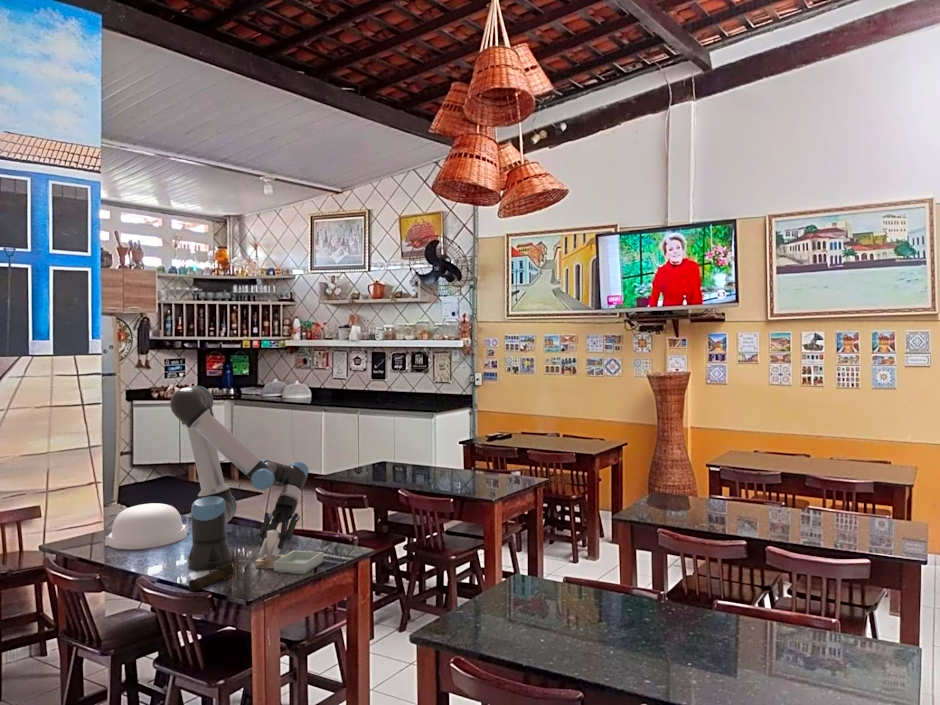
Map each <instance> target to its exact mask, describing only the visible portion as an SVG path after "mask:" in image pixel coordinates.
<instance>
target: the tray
mask: <svg viewBox="0 0 940 705" xmlns="http://www.w3.org/2000/svg"><path fill="white" fill-rule="evenodd" d="M284 555H285V556H283V557H281V558H279V559H278V560H276V561H274V569H273V572H274V571H278V572H277V573H285V572H290V574H299V575H300V574H302V575H303V574H304V575H305V574H308V573H309V572H310V571H312V570H313V569H315V568H317V567H318V566H319V565H321V564H323V563H324V551H310V550H309V551H308V550H291V551H290V552H288V553H286V554H284Z"/></svg>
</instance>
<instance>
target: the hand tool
mask: <svg viewBox="0 0 940 705" xmlns="http://www.w3.org/2000/svg"><path fill="white" fill-rule="evenodd" d="M234 571H235V570H234V566H233V564H232V563H227V564H225V565H221V566H220V567H219V568H217V569H215V570H214V571H212V572H208V573H207V574H205V575H202V576H200V577H197V578H195V579H191V580H188V581H189V582H188V589H189V591H191V592H198V591H199V590H201V591H202V588H205V587H207V586H209V585H211V584H213V583H216V582H217V581H220V580H225V579H224V578H226V579H228V578H229V577H228V576H230V575H231V576H233V574H234V573H235V572H234ZM231 576H230V577H231ZM227 577H228V578H227Z"/></svg>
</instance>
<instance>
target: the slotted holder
mask: <svg viewBox="0 0 940 705" xmlns="http://www.w3.org/2000/svg"><path fill="white" fill-rule="evenodd" d="M285 555H286V554H278V559H279V558H281V557H283V556H285ZM278 559H276V560H278ZM276 560H275V561H276ZM254 561H255V568H256V567H263V568H262V569H268V568H274V561H271V560H266V554H265V556H264V558H261V557H259V558H258V559H256V560H254Z"/></svg>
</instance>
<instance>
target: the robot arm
mask: <svg viewBox="0 0 940 705" xmlns="http://www.w3.org/2000/svg"><path fill="white" fill-rule="evenodd" d="M213 397H214V396H213V395H212V393H211V392H210V390H208V389H207V388H206V387H203V386H201V385H190V386H187V387H182V388H179V389H177V390H176V391H175V392H174V393H173V394H172V396H171V398H170V403H169V407H170V409H171V412H172V414H173V415H174V416H175V417H176V418H177V419H178V420H179V421H180V422H181V426H183V427H185V428H186V429H187V432H188V438H189V440H190V445H191V449H192V454H193V459H194V462H195V468H196V471H197V472H196V473H197V476H198V477H197V478H198V481H199V486H200V491H199V493H198V494H197V497H198V498H197V499H196V500H195V501H193V503H192V504H191V510H190V512H191V513H190V514H191V534H192V538H191V539H192V546H191V549H190V553H189V556H188V559H187V568H189V569H191V570H195V571H196V570H197V571H207V570H214V569H215V570H217V569H219V567H220V566H221V565H225V564H227V563H231V562H232V563H233V554H232V552H231V549H230V546H229V543H228V541H227V524H228V523H229V522H230V521H232V520H233V518H234V517H235V515H236V511H237V507H238V506H237V501H236V499H235V497H234V496H233V495H232V492H231V488H230V486H229V485H228V484H226V483H225V480H224V475H223V471H222V467H221V463H220V458H219V454H218V452H220V453H221V454H222V455H223V456H224V457H225V458H226V459H227V460H228V461H230V462H231V463H232V464H233V465H234V467H236V468H237V469H238V470H240V471H241V473H243V474H244V475H245V476H246V477H247V478H248V479H250V480H251V481H250V482H251V484H252V486H253V488H255V489H257V490H260V491H262V490H267V489H268V488H270V487H272V486H273V485H274V484H279V485H281V489H280V492H279V493H278V497H277V500H276V503H275V506H274V509H273V510H272V512H265V514H264V520H263V522H262V525H261V528H260V531H259V533H258V536H259V538H260V539H261V543H260V544H259V546H260V550H259V553H258V556H260V558H264V556H265V555H266V549H267V531H269V530H276V528H277V527H278V526H279V524H281V528H280V536H278V539H277V542H276V545H275V547H274V550H273V553H272V556H273V557H274V558H275V559H277V557H278V555H280V554H279V553H280V551H281V550H282V549H283V548H284V545H285V543H286V541H291V540H292V537H293V534H294V531H295V529H296V525H297V522H298V521H300V519H301V516H300V515H299V514H298V512H295V511H297V510H296V509H297V506H298V503H299V500H300V497H301V495H302V492H303V489H304V486H305V483H306V482H307V478H308V476H309V475H308V474H309V467H308V465H307V464H306V463H304V462H301V461H293V462H291V463H290V465H287V464H286V465H285V464H283V463H279V462H275V461H272V460H269V459H264V458H260V457H258V456H257V455H256V454H255V453H254V452H253V451H252V450H251V449H250V448H249V447H247V446H246V445H245V444H244V443H243V442H242V441H241V440H240V439H239V438H237V437H236V436H235V435H234V434H233V433H232V432H231V431H230V430H228V429H227V428H226V427H225V426H224V425H223V424H222V423H221V422H220V421H219V420H218V419H217V418H215V416H214V411H213V405H214V398H213ZM232 563H231V564H232Z"/></svg>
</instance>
